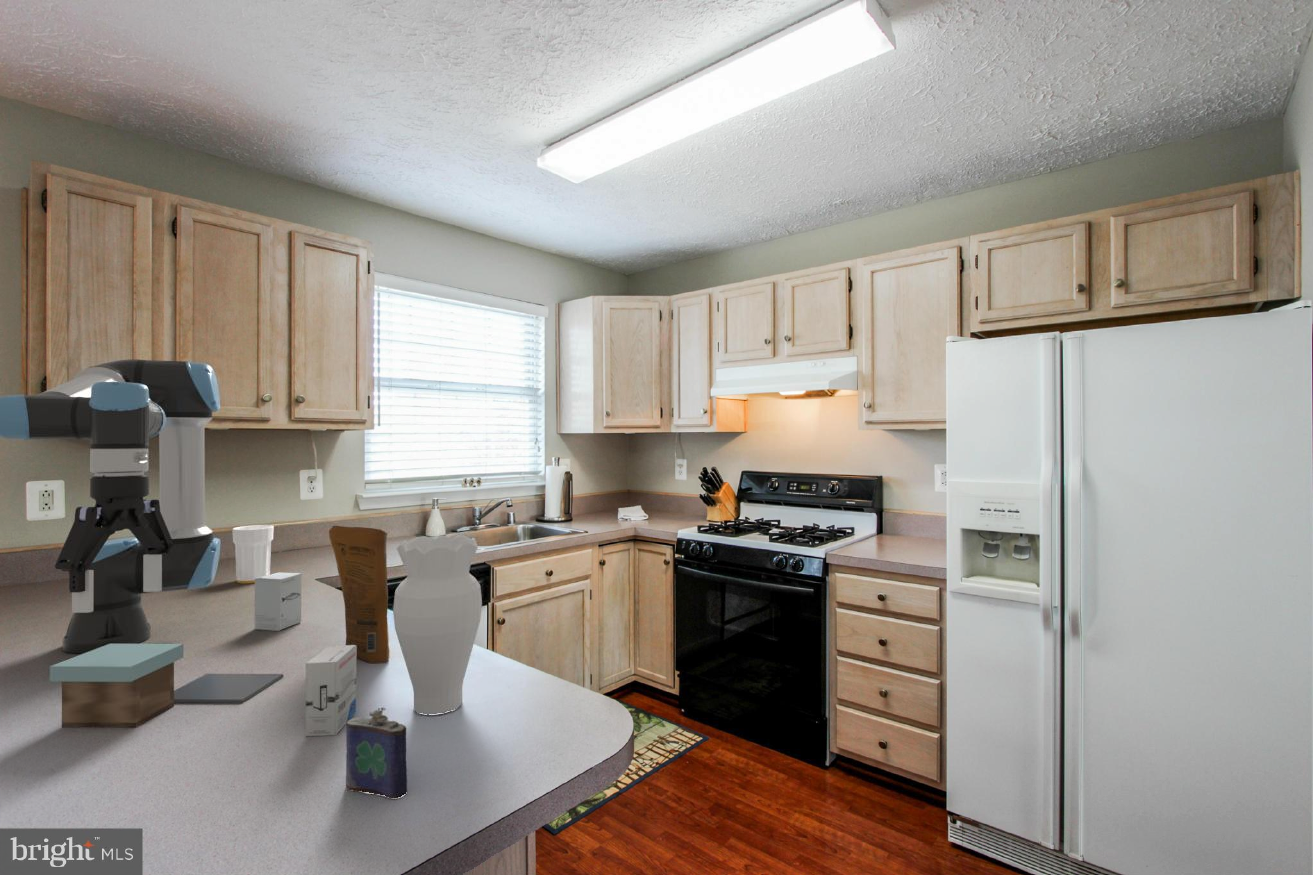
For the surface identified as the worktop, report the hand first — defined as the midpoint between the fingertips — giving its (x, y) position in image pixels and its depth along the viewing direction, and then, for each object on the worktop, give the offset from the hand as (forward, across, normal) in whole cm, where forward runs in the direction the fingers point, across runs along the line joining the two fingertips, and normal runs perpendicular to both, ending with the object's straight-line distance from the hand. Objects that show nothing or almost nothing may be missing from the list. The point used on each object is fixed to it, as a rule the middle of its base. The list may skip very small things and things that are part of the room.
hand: (119, 601), depth 105 cm
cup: (+19, +100, +42) cm, 110 cm away
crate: (+19, 0, 0) cm, 19 cm away
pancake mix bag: (+20, +30, -27) cm, 45 cm away
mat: (+19, +12, -9) cm, 25 cm away
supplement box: (+19, +51, +4) cm, 54 cm away
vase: (+20, +5, -52) cm, 56 cm away
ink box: (+20, -2, -37) cm, 42 cm away
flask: (+20, -21, -53) cm, 60 cm away
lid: (+11, 0, 0) cm, 11 cm away
